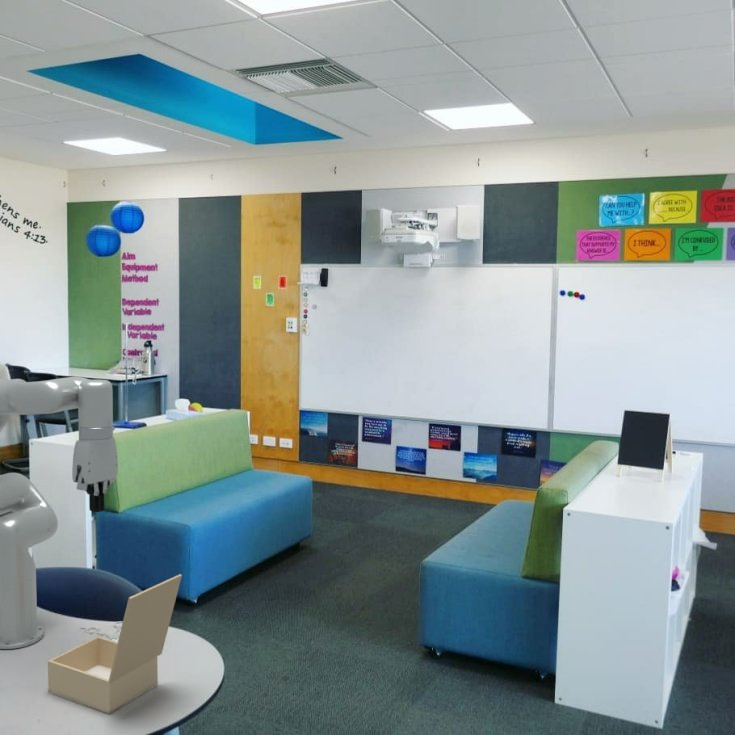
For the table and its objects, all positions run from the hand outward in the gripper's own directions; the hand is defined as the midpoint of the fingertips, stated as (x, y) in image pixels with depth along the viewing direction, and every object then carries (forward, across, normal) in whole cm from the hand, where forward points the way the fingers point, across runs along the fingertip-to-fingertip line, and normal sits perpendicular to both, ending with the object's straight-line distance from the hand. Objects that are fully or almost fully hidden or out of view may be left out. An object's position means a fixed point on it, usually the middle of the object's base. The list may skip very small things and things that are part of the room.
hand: (97, 510), depth 183 cm
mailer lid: (+18, +11, +25) cm, 33 cm away
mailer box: (+35, +11, +13) cm, 39 cm away
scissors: (+36, -8, -4) cm, 37 cm away
